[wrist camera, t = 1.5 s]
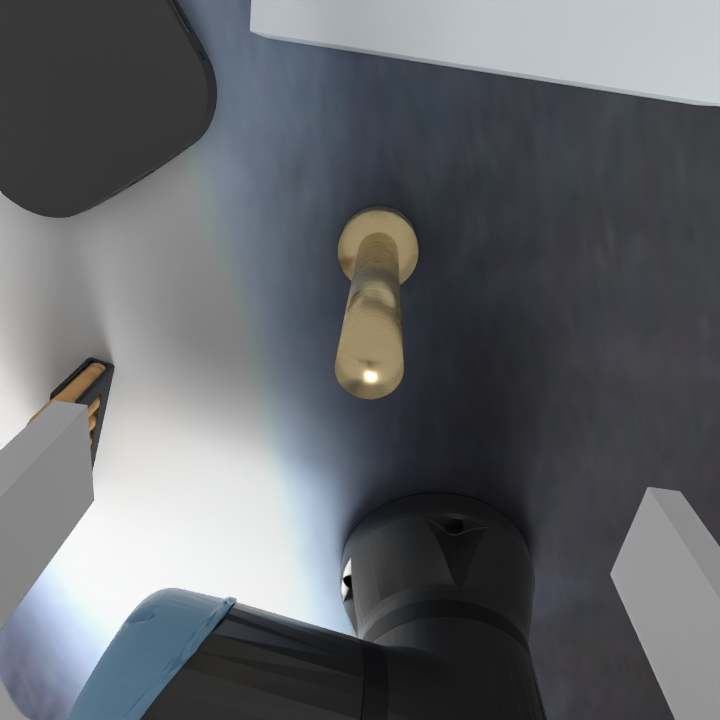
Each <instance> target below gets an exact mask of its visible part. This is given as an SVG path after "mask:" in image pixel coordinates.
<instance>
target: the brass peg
mask: <svg viewBox="0 0 720 720" xmlns="http://www.w3.org/2000/svg"><path fill="white" fill-rule="evenodd" d="M338 258H339V263H340V266H341V268H342V270H343V272H344V273H345V275H346V276H347V277H348V278H349V279H350V280H351V281H352V282H351V287H350V292H349V297H348V302H347V307H346V312H345V317H344V322H343V327H342V332H341V337H340V342H339V347H338V352H337V357H336V361H335V374H336V377H337V380H338V382H339V383H340V385H341V386H342V387H343V388H344V389H345V390H346V391H347V392H348V393H350V394H351V395H353V396H356V397H359V398H363V399H377V398H381V397H384V396H386V395H388V394H390V393H391V392H392V391H394V390H395V389H396V388H397V386H398V385H399V383H400V382H401V379H402V377H403V371H404V364H403V343H402V322H401V301H400V284H402V283H403V282H404V281H406V280H407V278H408V277H409V276H410V275H411V274H412V272H413V270H414V269H415V266H416V264H417V260H418V243H417V237H416V233H415V230H414V227H413V225H412V224H411V222H410V221H409V220H408V218H407V217H406V216H405V215H404V214H402V213H401V212H400V211H398V210H396V209H394V208H391V207H388V206H380V205H378V206H370V207H367V208H364V209H362V210H360V211H358V212H357V213H355V214H354V215H353V216H352V217H351V218H350V219H349V220H348V222H347V223H346V225H345V227H344V229H343V231H342V234H341V237H340V240H339V245H338Z"/></svg>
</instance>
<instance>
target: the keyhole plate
mask: <svg viewBox="0 0 720 720" xmlns="http://www.w3.org/2000/svg"><path fill="white" fill-rule="evenodd" d="M250 31H251V32H253V33H256V34H258V35H260V36H263V37H265V38H268V39H274V40H281V41H287V42H294V43H300V44H307V45H313V46H320V47H326V48H333V49H339V50H345V51H352V52H358V53H365V54H371V55H378V56H384V57H391V58H397V59H403V60H410V61H416V62H423V63H429V64H436V65H442V66H449V67H455V68H462V69H468V70H474V71H481V72H487V73H494V74H500V75H507V76H513V77H520V78H526V79H533V80H539V81H545V82H552V83H558V84H565V85H571V86H578V87H584V88H591V89H597V90H603V91H610V92H616V93H623V94H629V95H636V96H642V97H649V98H655V99H662V100H668V101H674V102H681V103H687V104H694V105H708V106H720V0H251V17H250Z"/></svg>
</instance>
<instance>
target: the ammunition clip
mask: <svg viewBox="0 0 720 720" xmlns="http://www.w3.org/2000/svg"><path fill="white" fill-rule="evenodd" d="M113 372H114V366H113V365H111V364H108V363H105V362H102V361H99V360H96V359H93V358H90V357H89V358H88V359H87V360H86V361H85V362H84V363H83V364H82V365H81V366H79V367H78V368H77V369H76V370H75V371H74V372H73V373H72V374H71V375H70V376H69V377H68V378H67V379H66V380H65V381H64V382H62V383H61V384H60V385H59V386H58V387H57V388H56V389H55V390H54V391H53V392H52V393H51V395H50V401H49V402H48V403H47V404H46V405H45V406H44V407H43V408H42V409H41V410H40V411H39V412H38V413H37V414H35V415H34V416H33V417H32V418H31V420H30V421H29V422H28V424H29V423H31V422H32V421H33V420H34V419H35V418H36V417H37V416H38V415H39V414H40V413H41V412H42V411H43V410H44V409H46V408H47V407H48V406H49V405H50V404H51V403H52V402H53V401H54V400H56V401H62V402H69V403H76V404H83V405H88V419H89V434H90V448H91V463H92V471H93V466H94V461H95V457H96V452H97V447H98V443H99V438H100V433H101V428H102V424H103V419H104V414H105V410H106V405H107V400H108V396H109V391H110V386H111V381H112V377H113ZM28 424H27V425H28Z"/></svg>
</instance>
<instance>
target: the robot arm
mask: <svg viewBox="0 0 720 720" xmlns="http://www.w3.org/2000/svg"><path fill="white" fill-rule="evenodd" d="M93 501H94V492H93V478H92V463H91V448H90V434H89V419H88V405H83V404H76V403H69V402H62V401H56V400H54V401H53V402H52V403H51V404H50V405H49V406H48V407H47V408H46V409H44V410H43V411H42V412H41V413H40V414H39V415H38V416H37V417H36V418H35V419H34V420H33V421H32V422H31V423H29V424H28V425H27V426H26V427H25V428H24V429H23V430H22V431H21V432H20V433H19V434H18V435H17V436H16V437H14V438H13V439H12V440H11V441H10V442H9V443H8V444H7V445H6V446H5V447H4V448H3V449H2V450H0V630H1V629H2V628H3V626H4V625H5V623H6V622H7V621H8V619H9V618H10V616H11V615H12V614H13V612H14V611H15V609H16V608H17V607H18V605H19V604H20V603H21V601H22V600H23V598H24V597H25V596H26V594H27V593H28V591H29V590H30V589H31V587H32V586H33V584H34V583H35V582H36V580H37V579H38V577H39V576H40V575H41V573H42V572H43V571H44V569H45V568H46V566H47V565H48V564H49V562H50V561H51V559H52V558H53V557H54V555H55V554H56V552H57V551H58V550H59V548H60V547H61V545H62V544H63V543H64V541H65V540H66V539H67V537H68V536H69V534H70V533H71V532H72V530H73V529H74V527H75V526H76V525H77V523H78V522H79V520H80V519H81V518H82V516H83V515H84V513H85V512H86V511H87V509H88V508H89V507H90V505H91V504H92V502H93ZM610 575H611V577H612V579H613V582H614V584H615V586H616V588H617V591H618V593H619V595H620V597H621V600H622V602H623V604H624V606H625V609H626V611H627V613H628V615H629V617H630V620H631V622H632V624H633V626H634V629H635V631H636V633H637V635H638V638H639V640H640V642H641V644H642V647H643V649H644V651H645V653H646V655H647V658H648V660H649V662H650V664H651V667H652V669H653V671H654V673H655V676H656V678H657V680H658V682H659V685H660V687H661V689H662V691H663V694H664V696H665V698H666V700H667V702H668V705H669V707H670V709H671V711H672V714H673V716H674V718H675V720H720V547H719V545H718V544H717V543H716V541H715V540H714V538H713V537H712V536H711V534H710V533H709V531H708V530H707V529H706V527H705V526H704V524H703V523H702V521H701V520H700V519H699V517H698V516H697V514H696V513H695V512H694V510H693V509H692V507H691V506H690V505H689V503H688V502H687V500H686V499H685V498H684V496H683V495H682V493H681V492H680V491H673V490H666V489H659V488H652V487H648V488H647V490H646V493H645V495H644V497H643V500H642V502H641V504H640V507H639V509H638V511H637V513H636V516H635V518H634V520H633V523H632V525H631V527H630V530H629V532H628V534H627V537H626V539H625V541H624V543H623V546H622V548H621V550H620V553H619V555H618V557H617V560H616V562H615V564H614V567H613V569H612V571H611V573H610ZM340 591H341V597H342V601H343V604H344V608H345V611H346V614H347V617H348V621H349V624H350V627H351V630H352V633H353V636H350V635H346V634H343V633H339V632H336V631H333V630H329V629H326V628H322V627H319V626H315V625H312V624H309V623H305V622H302V621H298V620H295V619H292V618H288V617H285V616H281V615H278V614H275V613H271V612H268V611H264V610H261V609H257V608H254V607H251V606H247V605H244V604H240V603H237V602H236V600H237V599H235V598H232V597H227V598H226V599H222V598H218V597H213V596H209V595H205V594H201V593H196V592H192V591H188V590H183V589H179V588H167V589H163V590H160V591H157V592H155V593H153V594H151V595H150V596H148V597H147V598H146V599H144V600H143V601H142V602H141V603H140V604H139V605H138V606H137V607H136V608H135V609H134V611H133V612H132V613H131V614H130V616H129V617H128V618H127V620H126V621H125V622H124V624H123V625H122V626H121V628H120V629H119V631H118V632H117V634H116V635H115V637H114V638H113V640H112V641H111V643H110V645H109V646H108V648H107V649H106V651H105V652H104V654H103V656H102V657H101V659H100V660H99V662H98V664H97V665H96V667H95V669H94V670H93V672H92V674H91V676H90V677H89V679H88V681H87V682H86V684H85V686H84V687H83V689H82V691H81V693H80V694H79V696H78V698H77V700H76V702H75V703H74V705H73V707H72V709H71V711H70V712H69V714H68V716H67V718H66V720H547V718H546V714H545V710H544V706H543V702H542V698H541V694H540V690H539V686H538V682H537V678H536V674H535V670H534V667H533V663H532V659H531V655H530V651H529V646H528V639H529V631H530V624H531V616H532V607H533V599H534V592H535V576H534V569H533V565H532V562H531V558H530V555H529V552H528V548H527V545H526V543H525V540H524V538H523V536H522V535H521V533H520V532H519V530H518V529H517V527H516V526H515V525H514V524H513V523H512V522H511V521H510V520H509V519H508V518H507V517H506V516H504V515H503V514H502V513H501V512H499V511H498V510H496V509H494V508H493V507H491V506H489V505H487V504H485V503H483V502H480V501H478V500H475V499H472V498H468V497H465V496H460V495H454V494H445V493H427V494H418V495H412V496H408V497H404V498H401V499H397V500H395V501H392V502H390V503H387V504H385V505H383V506H381V507H379V508H378V509H376V510H375V511H373V512H372V513H370V514H369V515H368V516H366V517H365V518H364V519H363V520H362V521H361V522H360V523H359V524H358V525H357V526H356V527H355V529H354V530H353V531H352V533H351V534H350V536H349V538H348V540H347V542H346V544H345V547H344V550H343V555H342V562H341V572H340Z"/></svg>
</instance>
